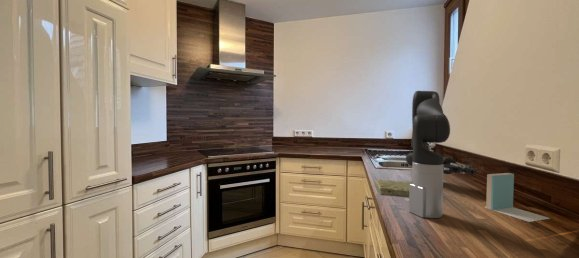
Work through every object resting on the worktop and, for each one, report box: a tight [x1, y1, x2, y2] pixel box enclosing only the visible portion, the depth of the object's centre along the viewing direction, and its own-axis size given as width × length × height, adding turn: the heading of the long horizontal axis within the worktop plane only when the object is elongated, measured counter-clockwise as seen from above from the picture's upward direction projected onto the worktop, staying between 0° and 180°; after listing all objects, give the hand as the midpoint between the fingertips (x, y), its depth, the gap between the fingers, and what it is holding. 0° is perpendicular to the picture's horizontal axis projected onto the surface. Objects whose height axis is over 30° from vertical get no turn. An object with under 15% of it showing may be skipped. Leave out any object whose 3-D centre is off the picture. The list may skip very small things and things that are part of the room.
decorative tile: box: [374, 179, 412, 198], centre depth 117 cm, size 19×20×4 cm
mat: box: [483, 206, 551, 223], centre depth 89 cm, size 10×14×1 cm
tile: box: [485, 172, 515, 211], centre depth 94 cm, size 10×2×12 cm, turn 107°
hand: (475, 172), depth 104 cm, fingers closed
